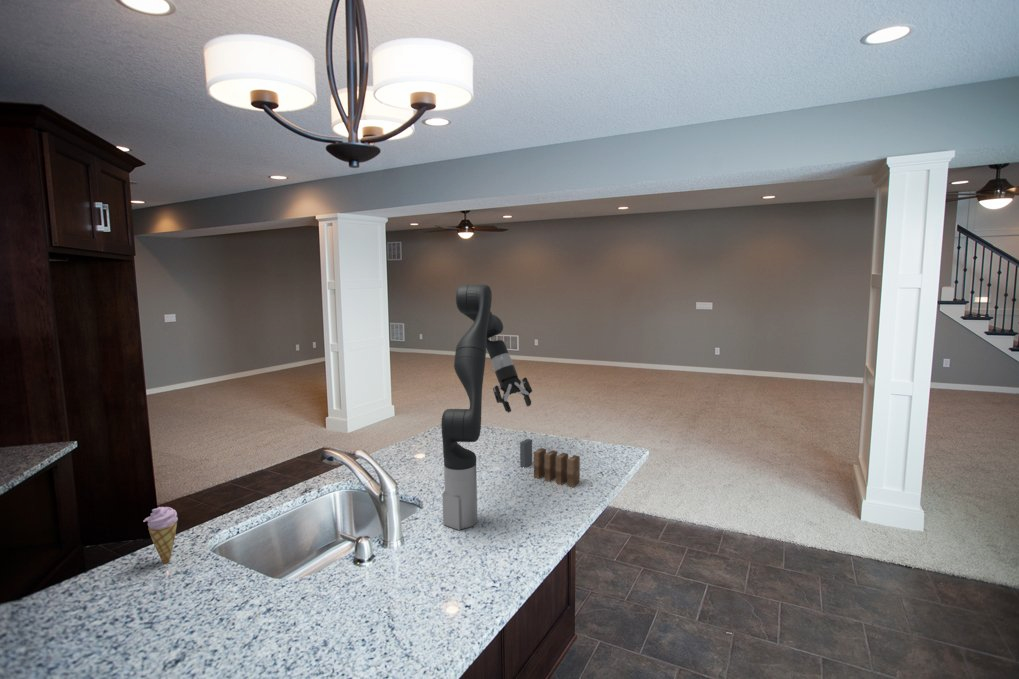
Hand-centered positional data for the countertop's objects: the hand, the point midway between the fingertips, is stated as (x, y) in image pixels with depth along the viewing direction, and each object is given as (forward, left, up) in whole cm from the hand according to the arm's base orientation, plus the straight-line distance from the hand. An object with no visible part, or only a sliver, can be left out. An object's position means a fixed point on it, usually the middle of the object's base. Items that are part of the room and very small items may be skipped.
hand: (519, 408), depth 187 cm
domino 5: (-2, -24, -23) cm, 33 cm away
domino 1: (+4, 0, -23) cm, 23 cm away
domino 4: (-2, -19, -23) cm, 30 cm away
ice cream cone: (-103, +37, -23) cm, 112 cm away
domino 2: (-2, -10, -23) cm, 25 cm away
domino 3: (-2, -15, -23) cm, 27 cm away
